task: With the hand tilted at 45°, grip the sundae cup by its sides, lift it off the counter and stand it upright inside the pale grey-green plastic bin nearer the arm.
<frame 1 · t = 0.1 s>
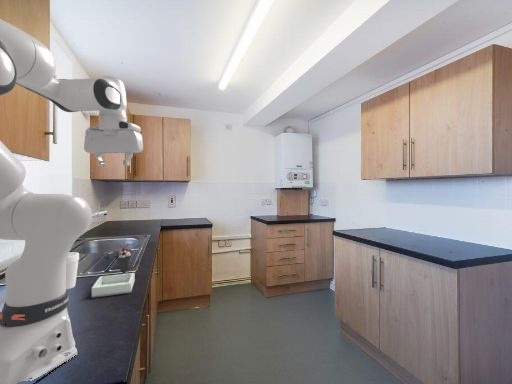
hand: (113, 165, 93), 48 cm above the countertop, tool pointing down, fingers open, 8 cm apart
sundae: (124, 279, 115), on the countertop
foam cup: (65, 287, 106), on the countertop
bin: (114, 288, 104), on the countertop
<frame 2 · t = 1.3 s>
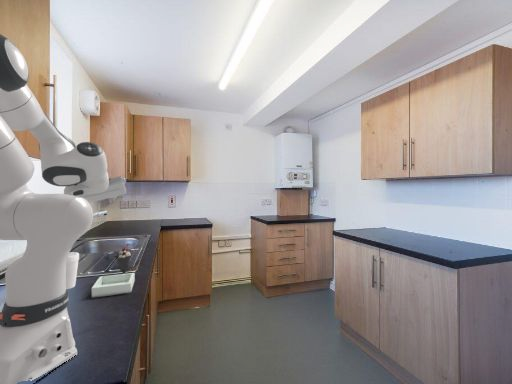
hand: (98, 205, 104), 33 cm above the countertop, tool tilted 50°, fingers open, 8 cm apart
nothing on the countertop moved.
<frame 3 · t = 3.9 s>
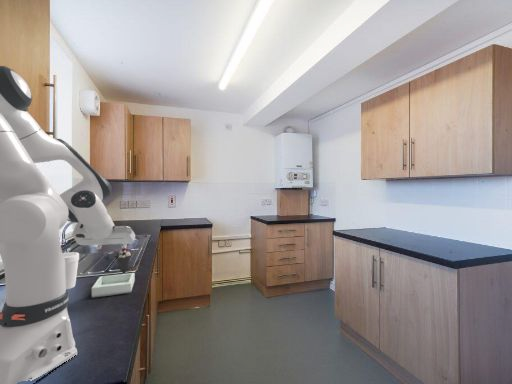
hand: (112, 247, 106), 16 cm above the countertop, tool tilted 45°, fingers open, 8 cm apart
nothing on the countertop moved.
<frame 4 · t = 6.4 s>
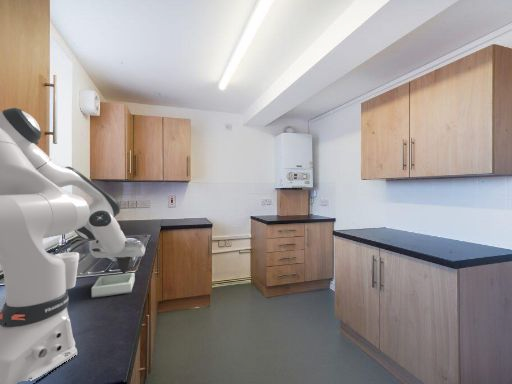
hand: (124, 259, 116), 8 cm above the countertop, tool tilted 45°, fingers closed on sundae, 6 cm apart
sundae: (124, 279, 115), on the countertop, touching gripper
everything else where it was.
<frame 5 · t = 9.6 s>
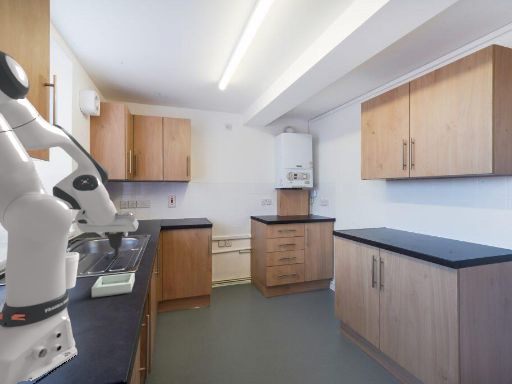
hand: (115, 235, 104), 21 cm above the countertop, tool tilted 45°, fingers closed on sundae, 6 cm apart
sundae: (117, 258, 104), point 12 cm above the countertop, touching gripper
everything else where it was.
when the fingers open (10 cm above the countertop, at t = 12.8 s): sundae stays where it is, resting on bin.
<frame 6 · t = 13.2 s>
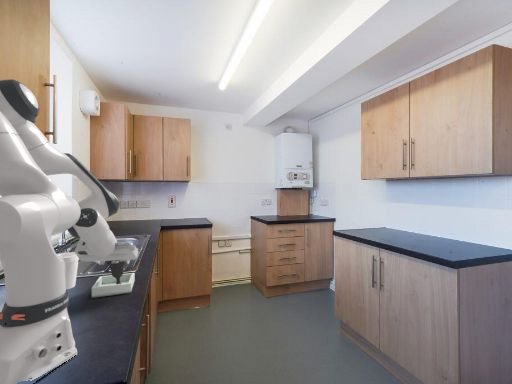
hand: (115, 262, 104), 10 cm above the countertop, tool tilted 45°, fingers open, 8 cm apart
sundae: (118, 286, 104), point 1 cm above the countertop, touching bin, gripper
everything else where it was.
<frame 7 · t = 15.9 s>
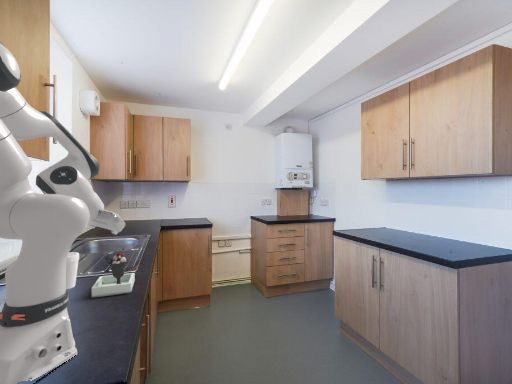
hand: (104, 229, 99), 24 cm above the countertop, tool tilted 50°, fingers open, 8 cm apart
sundae: (118, 287, 104), resting on bin
everything else where it was.
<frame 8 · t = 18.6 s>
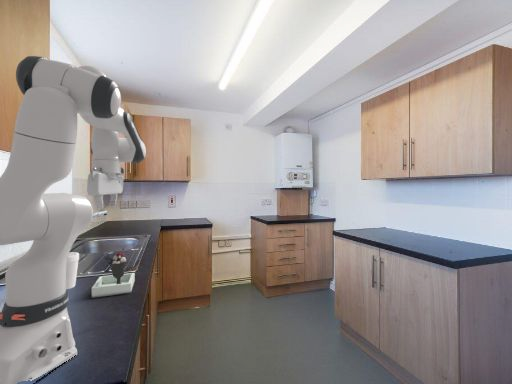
hand: (107, 207, 95), 33 cm above the countertop, tool pointing down, fingers open, 8 cm apart
nothing on the countertop moved.
at the end: sundae inside the target area on the bin (1.4 cm from its centre), point 0.4 cm above the bin's base; sundae tilted 0°; the gripper is holding nothing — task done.
